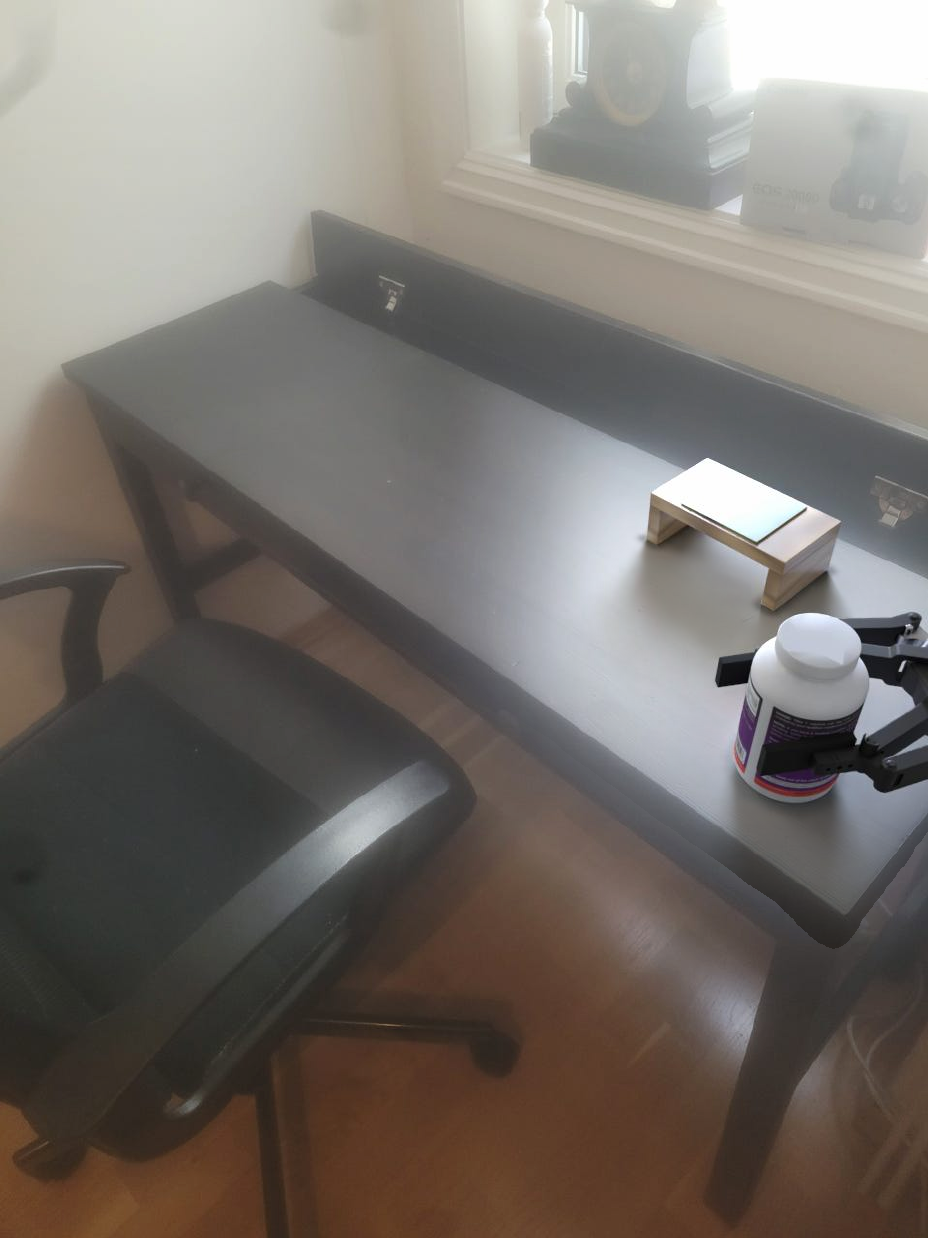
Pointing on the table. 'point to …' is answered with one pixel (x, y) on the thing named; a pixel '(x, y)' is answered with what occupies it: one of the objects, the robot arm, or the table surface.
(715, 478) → the shelf
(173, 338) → the table surface
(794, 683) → the pill bottle
